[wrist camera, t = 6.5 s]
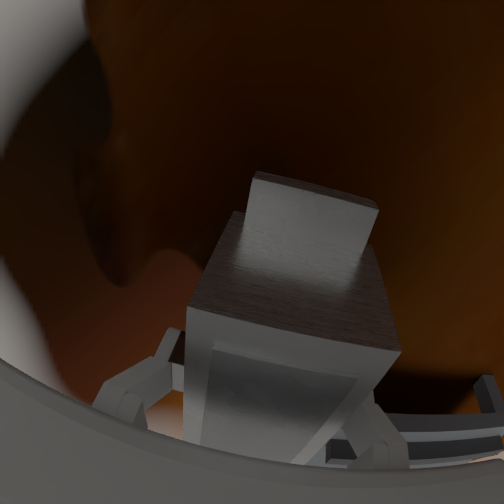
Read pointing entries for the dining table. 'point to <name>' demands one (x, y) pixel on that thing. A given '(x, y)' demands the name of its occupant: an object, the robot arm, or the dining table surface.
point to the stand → (436, 434)
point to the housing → (286, 324)
